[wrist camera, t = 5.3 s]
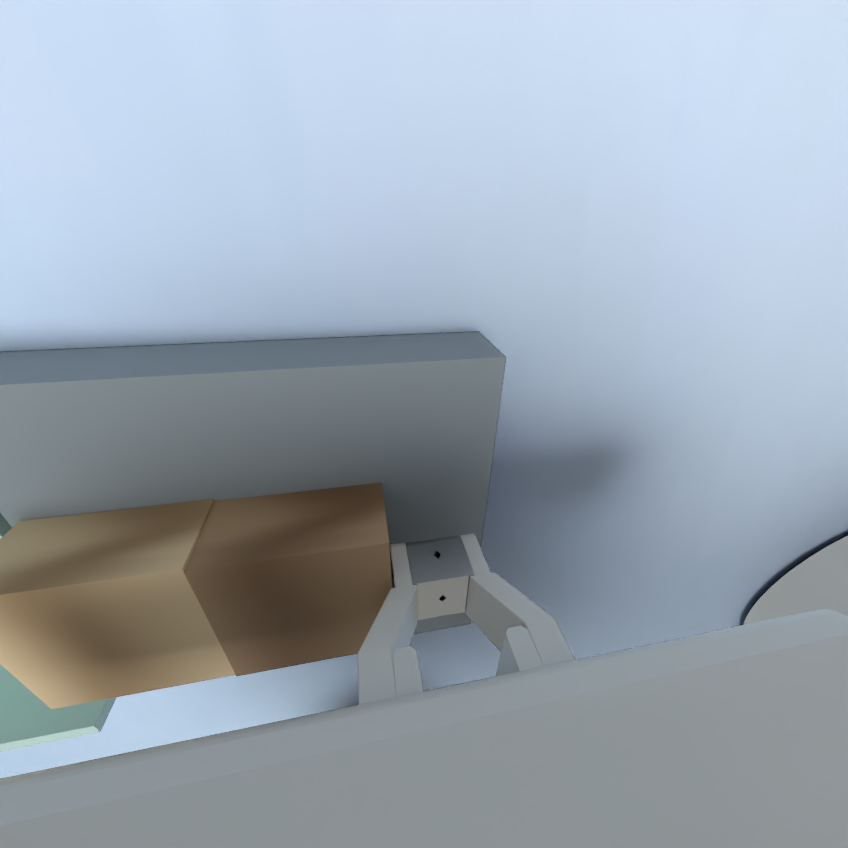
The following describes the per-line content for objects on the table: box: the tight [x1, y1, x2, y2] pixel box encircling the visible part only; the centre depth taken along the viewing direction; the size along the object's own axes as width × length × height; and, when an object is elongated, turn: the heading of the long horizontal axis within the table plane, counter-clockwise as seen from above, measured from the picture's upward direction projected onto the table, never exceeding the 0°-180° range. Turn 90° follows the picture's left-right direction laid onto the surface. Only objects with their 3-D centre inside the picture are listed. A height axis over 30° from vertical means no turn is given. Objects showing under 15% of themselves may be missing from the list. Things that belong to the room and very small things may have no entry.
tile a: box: [0, 499, 236, 709], centre depth 11 cm, size 5×5×2 cm
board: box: [0, 332, 506, 634], centre depth 13 cm, size 14×13×2 cm
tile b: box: [184, 482, 392, 676], centre depth 12 cm, size 5×5×2 cm
